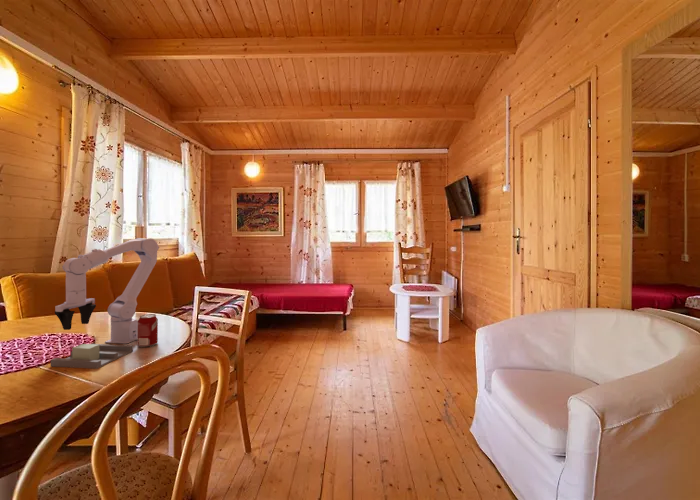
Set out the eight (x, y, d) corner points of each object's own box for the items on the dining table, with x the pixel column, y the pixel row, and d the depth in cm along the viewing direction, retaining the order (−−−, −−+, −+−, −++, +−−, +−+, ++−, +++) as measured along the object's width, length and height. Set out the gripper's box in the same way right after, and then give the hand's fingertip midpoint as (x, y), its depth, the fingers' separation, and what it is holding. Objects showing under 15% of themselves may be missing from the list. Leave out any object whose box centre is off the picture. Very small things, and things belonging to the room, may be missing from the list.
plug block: (99, 358, 111) (99, 344, 110) (89, 363, 107) (89, 348, 106) (82, 357, 111) (82, 343, 111) (72, 362, 107) (72, 347, 107)
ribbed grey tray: (132, 351, 120) (132, 345, 120) (97, 368, 104) (97, 362, 104) (91, 349, 121) (91, 343, 121) (50, 366, 105) (50, 359, 105)
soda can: (147, 348, 123) (148, 318, 123) (133, 347, 124) (133, 316, 124) (161, 343, 130) (161, 314, 129) (147, 341, 131) (147, 313, 130)
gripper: (82, 286, 125) (82, 321, 125) (46, 293, 110) (46, 331, 111) (100, 287, 125) (100, 321, 125) (66, 294, 110) (66, 332, 111)
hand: (76, 326), depth 118 cm, fingers open, 7 cm apart
